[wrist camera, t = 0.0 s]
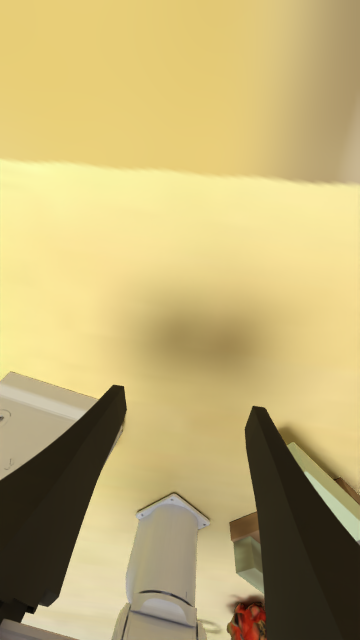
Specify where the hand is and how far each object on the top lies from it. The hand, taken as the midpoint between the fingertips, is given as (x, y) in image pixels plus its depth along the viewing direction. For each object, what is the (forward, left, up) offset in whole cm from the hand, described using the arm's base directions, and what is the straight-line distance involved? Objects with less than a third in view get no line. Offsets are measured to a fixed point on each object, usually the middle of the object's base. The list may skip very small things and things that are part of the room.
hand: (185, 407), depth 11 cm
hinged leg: (-2, -22, -8) cm, 24 cm away
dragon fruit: (-32, -48, -11) cm, 59 cm away
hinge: (-21, +4, -11) cm, 24 cm away
